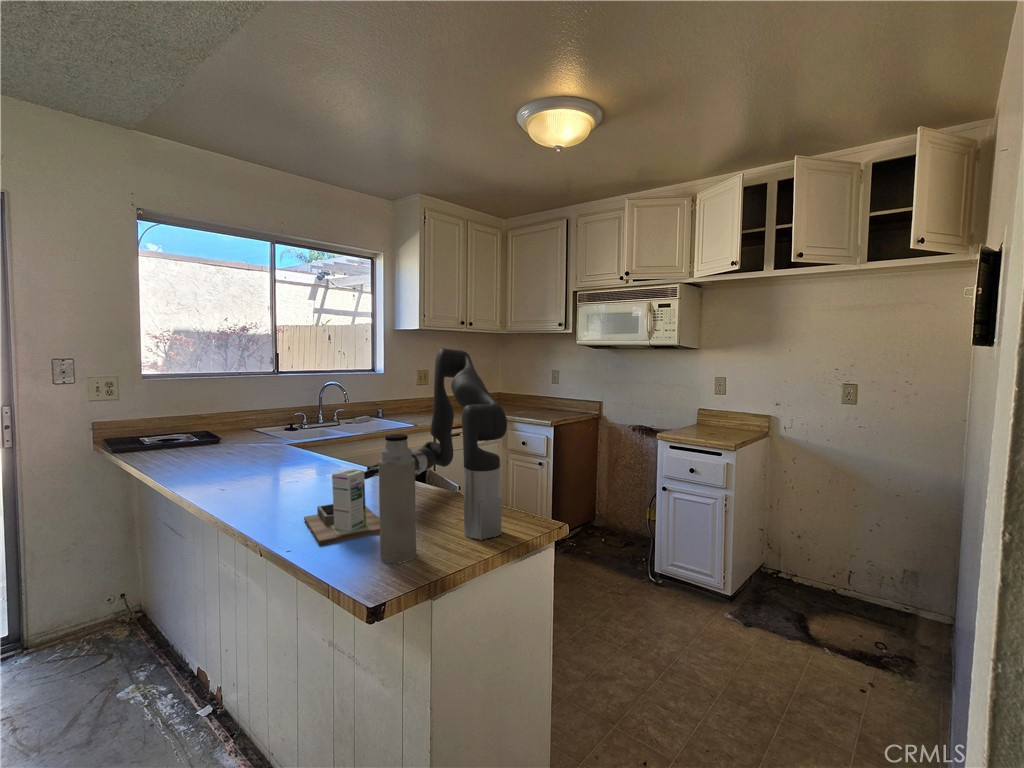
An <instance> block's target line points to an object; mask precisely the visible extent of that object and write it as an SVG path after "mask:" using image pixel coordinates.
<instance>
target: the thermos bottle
mask: <svg viewBox="0 0 1024 768" xmlns="http://www.w3.org/2000/svg"><path fill="white" fill-rule="evenodd" d="M384 438H385V444H384V445H385V448H383V449H382V450H381V454H380V457H381V458H380V459H379V460H378V463H379V476H378V495H379V497H378V501H379V503H378V505H379V506H378V507H379V508H378V509H379V519H380V533H379V545H380V546H379V549H380V553H379V554H380V556H379V557H380V560H381V561H382V562H383V561H384V562H383V563H386V562H388V563H387V564H391V563H398V564H400V563H399V562H404V561H407V560H410V559H412V558H414V557H415V558H416V557H417V518H416V516H417V515H416V505H417V504H416V503H417V502H416V476H415V459H414V458H412V451H413V450H412V448H410V447H408V445H409V443H408V435H407V434H402V433H397V434H396V433H393V434H392V433H391V434H387V435H385V437H384ZM415 558H414V559H415ZM412 560H413V559H412ZM410 561H411V560H410ZM404 563H405V562H404Z"/></svg>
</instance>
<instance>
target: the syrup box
mask: <svg viewBox="0 0 1024 768" xmlns="http://www.w3.org/2000/svg"><path fill="white" fill-rule="evenodd" d="M364 471H365V470H362V469H356V468H355V469H354V468H347V469H345V470H342V471H339V472H336V473H335V472H334V473H332V474H331V479H332V480H331V481H332V483H331V484H332V504H333V509H334V528H335V529H339V530H344V531H350V532H351V531H353V530H355V529H357V528H359V527H361V526H363V525H365V524H366V509H365V506H366V489H365V487H366V486H365V485H366V484H365V482H366V481H365V479H364Z"/></svg>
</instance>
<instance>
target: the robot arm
mask: <svg viewBox="0 0 1024 768" xmlns="http://www.w3.org/2000/svg"><path fill="white" fill-rule="evenodd" d="M445 378H453V379H452V381H451V392H452V394H453V397H454V398H455V400H456V402H457V403H458V405H460V406H461V407H462V408H463V410H462V414H461V427H462V428H461V430H462V431H461V432H462V443H463V444H462V445H463V446H462V447H463V450H462V451H463V452H462V453H463V519H464V520H463V521H464V523H463V525H464V526H463V529H464V532H463V534H464V535H465V536H466V537H467V538H470V539H473V538H474V539H476V540H478V539H479V541H484V540H483V539H485V540H488V539H487V538H490V539H492V538H491V537H494V538H496V537H495V536H498V537H500V536H499V535H501V536H502V499H501V458H500V456H499V455H498V454H496V453H494V452H490V451H487V450H484V449H482V448H480V447H479V445H478V442H483V441H485V442H486V441H496V440H499V439H502V438H503V437H504V436H505V435H506V433H507V431H508V419H507V415H506V412H505V411H504V409H503V407H502V405H501V404H500V403H499V402H498V401H497V400H496V399H495V398H494V397H493V396H492V394H490V391H488V389H487V387H486V385H485V383H484V381H483V380H482V378H481V377H480V375H479V374H478V373H477V371H476V369H475V367H474V363H473V361H472V357H471V355H470V354H469V353H468V352H466V351H464V350H459V349H453V348H440V349H439V350H438V352H437V354H436V357H435V363H434V381H433V385H434V386H433V412H432V417H431V418H432V420H431V425H430V426H431V427H430V435H431V436H432V437H433V438H435V439H436V440H437V441H438V442H439V443H438V442H435V441H428V442H426V443H425V444H423V446H422V447H421V448H419V449H417V450H412V458H414V459H415V477H417V476H419V475H420V474H421V473H422V472H425V471H427V470H430V469H431V468H433V467H434V465H436V466H439V467H444V468H445V467H448V466H450V465H451V463H452V461H453V459H454V446H453V444H454V443H453V435H452V433H453V425H454V419H455V418H454V417H455V414H454V408H453V406H452V403H451V401H450V399H449V397H448V394H447V391H446V388H445ZM363 471H364V480H368V479H371V478H374V477H379V462H377V463H375V464H371V465H368V466H366V470H363Z"/></svg>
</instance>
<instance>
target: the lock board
mask: <svg viewBox="0 0 1024 768" xmlns="http://www.w3.org/2000/svg"><path fill="white" fill-rule="evenodd" d="M365 509H366V524H365V525H363V526H361V527H359V528H357V529H355V530H353V531H351V532H350V531H344V530H339V529H335V528H334V509H333V503H330V504H324V505H317V512H316V513H317V514H312V515H308V516H304V517H303V521H304V520H305V522H306V523H305V522H304V523H305V525H306V524H307V525H308V526H307V525H306V526H307V528H308V527H309V528H308V530H309V529H310V530H311V531H310V530H309V531H310V533H311V532H312V533H311V535H312V534H313V535H314V536H313V535H312V536H313V538H314V537H315V538H314V540H315V541H316V540H317V541H316V543H317V542H318V543H317V544H318V546H319V545H321V546H325V544H326V545H329V544H330V543H331V544H335V543H340V542H344V541H348V540H350V541H351V540H355V539H358V538H363V537H368V536H374V535H378V534H379V535H380V517H379V516H378V515H376V514H375V513H374V512H373V511H372V510H371V509H370V508H368V506H366V505H365Z"/></svg>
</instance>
